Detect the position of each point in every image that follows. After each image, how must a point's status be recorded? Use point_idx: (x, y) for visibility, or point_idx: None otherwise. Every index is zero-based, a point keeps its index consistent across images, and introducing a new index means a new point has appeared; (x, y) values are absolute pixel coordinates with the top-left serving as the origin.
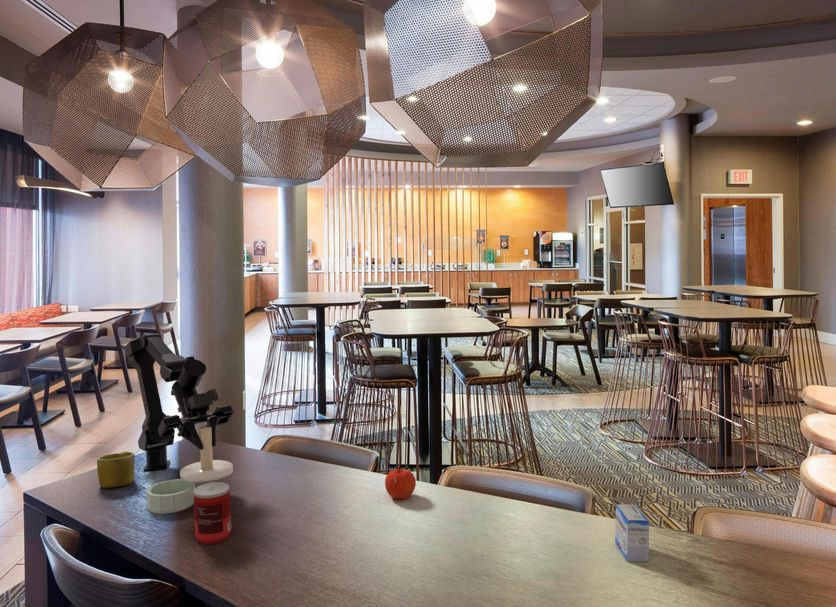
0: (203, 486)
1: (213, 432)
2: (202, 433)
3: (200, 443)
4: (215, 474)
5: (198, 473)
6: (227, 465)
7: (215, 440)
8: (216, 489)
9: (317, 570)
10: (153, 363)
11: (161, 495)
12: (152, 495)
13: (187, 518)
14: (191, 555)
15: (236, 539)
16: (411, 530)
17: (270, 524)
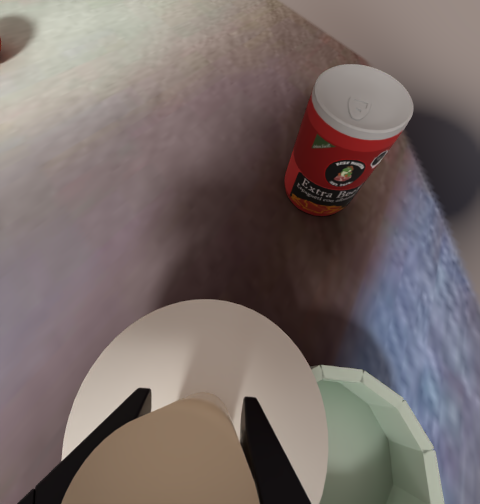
0: (374, 125)
1: (61, 488)
2: (241, 448)
3: (259, 425)
4: (220, 314)
5: (262, 391)
6: (113, 377)
7: (116, 409)
8: (350, 93)
9: (261, 35)
10: None
11: (400, 405)
12: (428, 440)
13: (323, 306)
14: None
15: (291, 151)
16: (104, 9)
17: (214, 148)
